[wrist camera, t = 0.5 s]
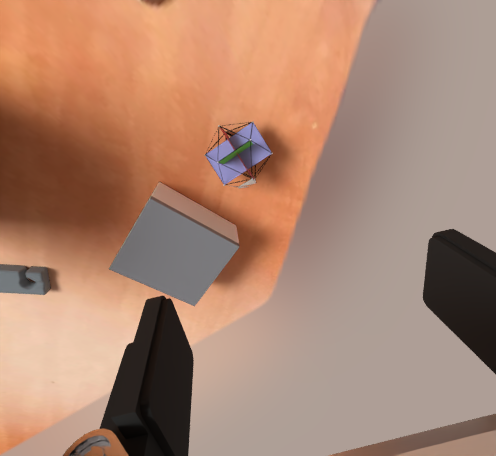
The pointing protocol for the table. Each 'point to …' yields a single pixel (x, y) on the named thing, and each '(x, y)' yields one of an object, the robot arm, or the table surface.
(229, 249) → the grey stand
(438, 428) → the robot arm
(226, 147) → the geometric puzzle
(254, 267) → the table surface
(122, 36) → the table surface
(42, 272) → the bracket
